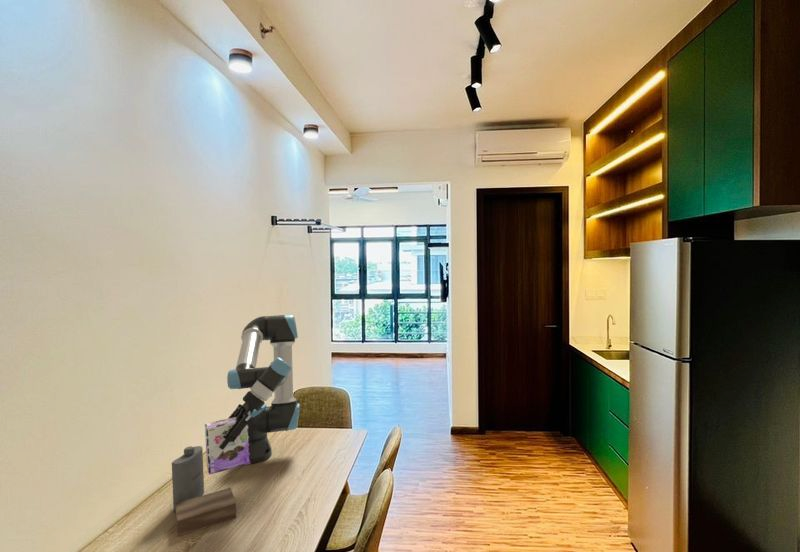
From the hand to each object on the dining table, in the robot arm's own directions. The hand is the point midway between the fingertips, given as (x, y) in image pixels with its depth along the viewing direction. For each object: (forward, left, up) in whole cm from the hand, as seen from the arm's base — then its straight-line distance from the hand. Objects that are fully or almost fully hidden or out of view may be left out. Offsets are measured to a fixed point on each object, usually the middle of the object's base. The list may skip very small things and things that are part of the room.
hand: (212, 452), depth 140 cm
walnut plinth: (-2, -2, -23) cm, 23 cm away
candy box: (0, +5, -6) cm, 8 cm away
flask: (-17, -6, -23) cm, 29 cm away
